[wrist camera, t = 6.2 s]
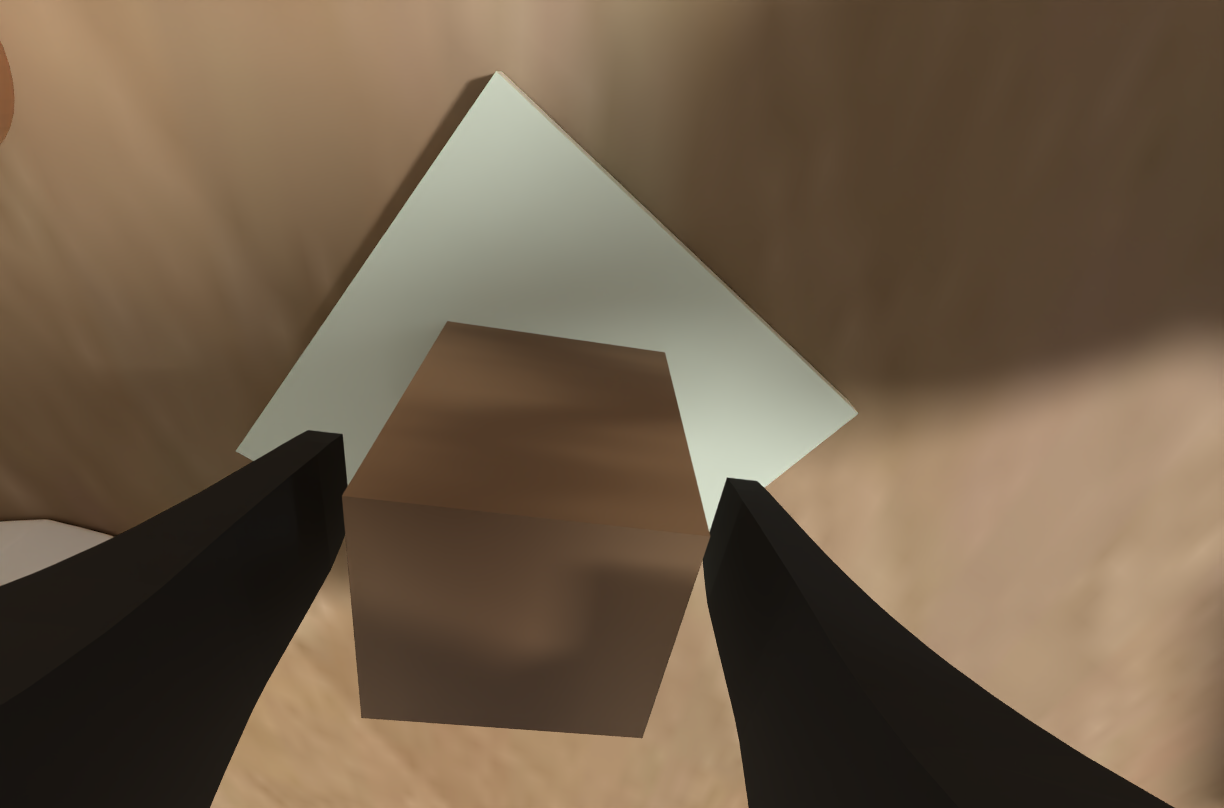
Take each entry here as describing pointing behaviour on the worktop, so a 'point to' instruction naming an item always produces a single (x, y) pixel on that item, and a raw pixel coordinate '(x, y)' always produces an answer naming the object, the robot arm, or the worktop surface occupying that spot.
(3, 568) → the white cup
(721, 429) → the coaster
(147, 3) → the worktop surface
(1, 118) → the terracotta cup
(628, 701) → the walnut block
